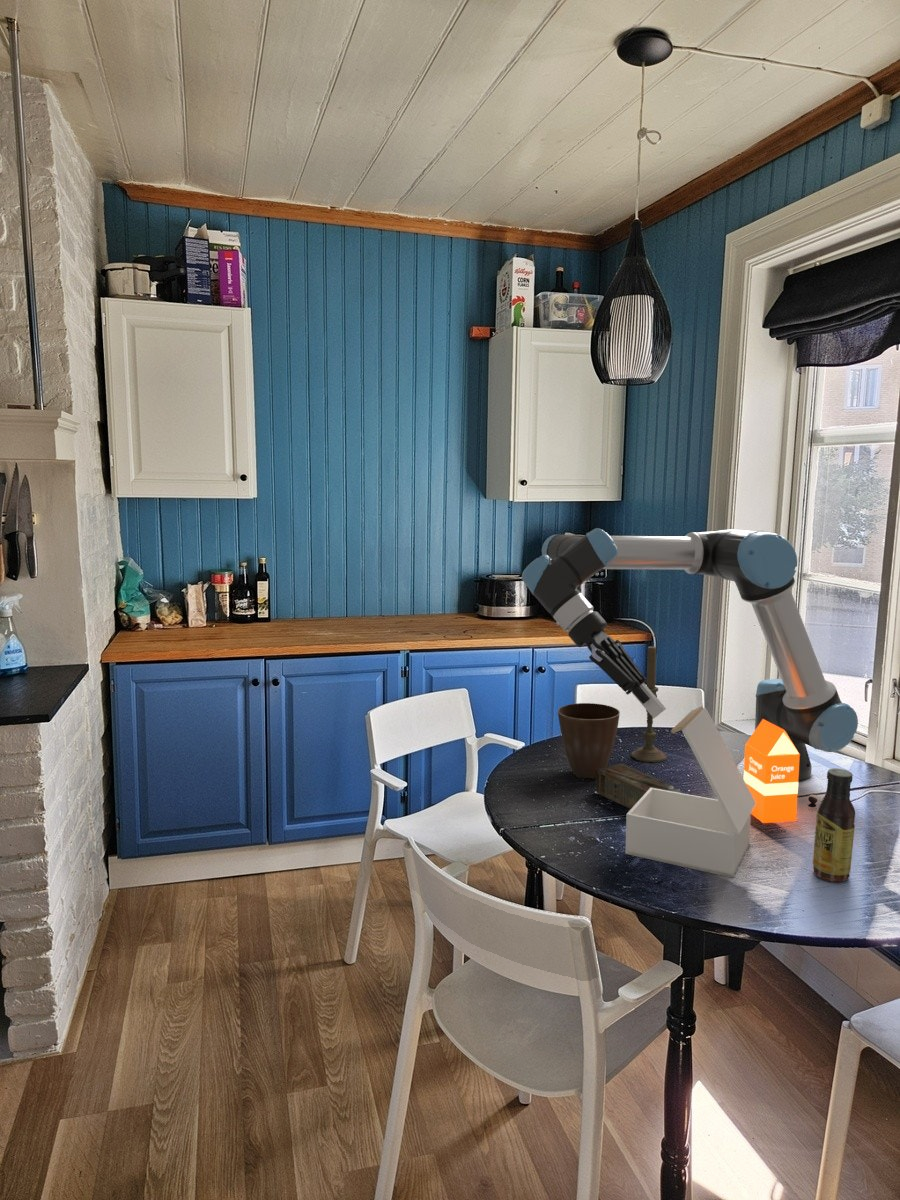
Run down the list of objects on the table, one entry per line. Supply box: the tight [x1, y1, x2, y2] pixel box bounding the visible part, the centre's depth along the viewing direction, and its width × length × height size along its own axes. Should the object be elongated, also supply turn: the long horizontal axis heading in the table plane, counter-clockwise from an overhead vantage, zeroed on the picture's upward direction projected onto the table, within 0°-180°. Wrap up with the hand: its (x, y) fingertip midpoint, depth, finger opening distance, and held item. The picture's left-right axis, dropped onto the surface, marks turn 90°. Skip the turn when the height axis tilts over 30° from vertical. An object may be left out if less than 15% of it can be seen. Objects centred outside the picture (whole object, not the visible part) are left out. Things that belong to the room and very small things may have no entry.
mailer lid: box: [670, 705, 756, 835], centre depth 155 cm, size 21×17×3 cm
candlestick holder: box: [630, 643, 668, 764], centre depth 211 cm, size 9×9×30 cm
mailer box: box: [624, 788, 752, 879], centre depth 159 cm, size 20×16×8 cm
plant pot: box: [557, 702, 621, 780], centre depth 200 cm, size 15×15×16 cm
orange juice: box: [742, 719, 800, 824], centre depth 175 cm, size 8×9×20 cm
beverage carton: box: [595, 762, 681, 810], centre depth 182 cm, size 8×19×7 cm, turn 32°
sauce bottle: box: [812, 767, 856, 883], centre depth 146 cm, size 7×6×20 cm
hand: (660, 713), depth 158 cm, fingers closed
